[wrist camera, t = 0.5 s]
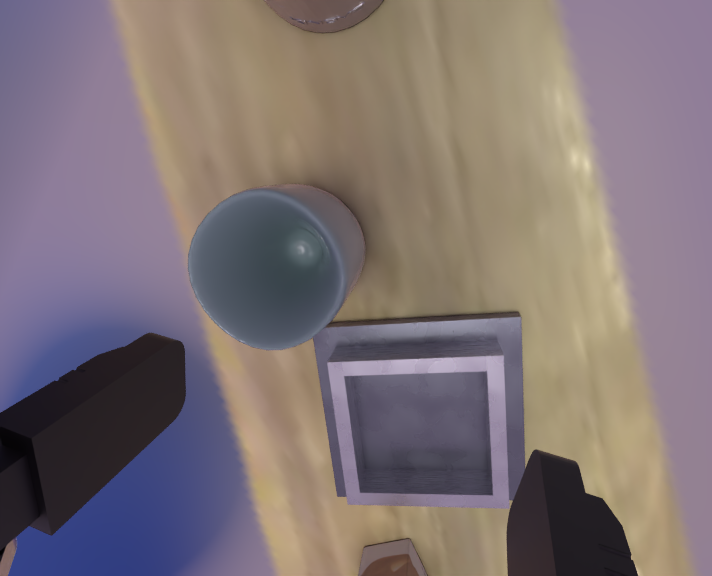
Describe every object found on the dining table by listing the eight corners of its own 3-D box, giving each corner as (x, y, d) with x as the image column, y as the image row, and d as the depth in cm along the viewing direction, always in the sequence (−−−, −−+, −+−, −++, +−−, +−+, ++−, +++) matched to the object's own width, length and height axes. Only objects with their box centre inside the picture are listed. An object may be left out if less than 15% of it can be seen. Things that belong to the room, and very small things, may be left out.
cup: (397, 244, 29) (380, 282, 19) (317, 316, 31) (266, 380, 22) (317, 156, 28) (259, 151, 19) (241, 236, 31) (155, 267, 21)
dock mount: (315, 323, 31) (301, 342, 28) (518, 311, 29) (529, 330, 25) (339, 487, 35) (330, 521, 32) (523, 490, 32) (533, 527, 29)
